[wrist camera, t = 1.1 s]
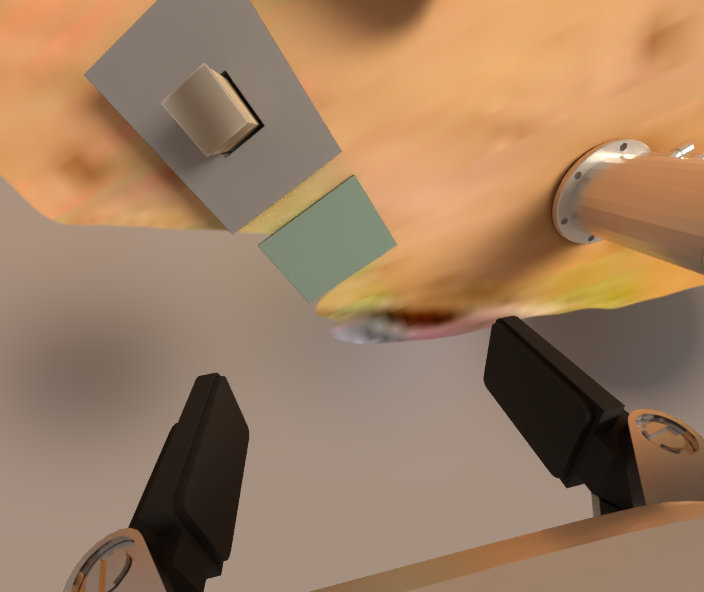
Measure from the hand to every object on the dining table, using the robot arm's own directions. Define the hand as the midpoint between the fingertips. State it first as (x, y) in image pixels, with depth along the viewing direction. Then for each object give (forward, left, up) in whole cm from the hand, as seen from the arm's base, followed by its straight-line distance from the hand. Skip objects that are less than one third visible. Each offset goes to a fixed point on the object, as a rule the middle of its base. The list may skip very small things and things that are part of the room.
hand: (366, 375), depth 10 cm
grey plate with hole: (+3, -12, -28) cm, 30 cm away
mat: (+3, +4, -28) cm, 28 cm away
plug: (+3, -12, -27) cm, 30 cm away
